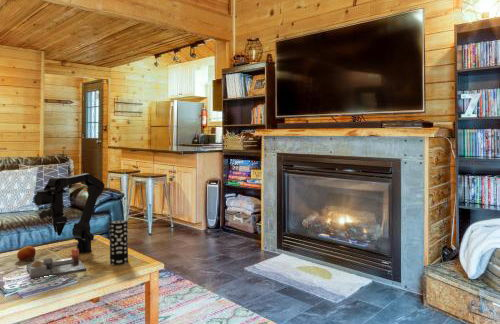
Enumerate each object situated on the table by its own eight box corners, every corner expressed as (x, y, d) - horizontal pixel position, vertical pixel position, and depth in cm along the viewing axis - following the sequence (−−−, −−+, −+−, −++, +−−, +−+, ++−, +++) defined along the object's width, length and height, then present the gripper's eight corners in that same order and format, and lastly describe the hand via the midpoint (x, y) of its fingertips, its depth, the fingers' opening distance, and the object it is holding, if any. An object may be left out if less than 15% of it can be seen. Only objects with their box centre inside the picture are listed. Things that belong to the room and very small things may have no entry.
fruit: (31, 260, 190) (23, 245, 191) (19, 267, 192) (11, 253, 192) (42, 255, 198) (35, 241, 199) (31, 262, 200) (24, 248, 200)
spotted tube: (131, 261, 193) (131, 221, 192) (119, 266, 186) (118, 224, 185) (118, 259, 197) (118, 219, 196) (106, 263, 189) (105, 222, 188)
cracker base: (76, 258, 197) (76, 250, 197) (86, 270, 179) (85, 260, 179) (26, 266, 185) (26, 257, 185) (31, 279, 167) (30, 269, 167)
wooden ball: (43, 269, 177) (42, 258, 177) (44, 272, 173) (44, 261, 172) (30, 271, 174) (30, 260, 174) (31, 275, 170) (31, 263, 170)
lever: (34, 269, 177) (34, 257, 176) (32, 267, 180) (32, 255, 179) (79, 261, 189) (79, 249, 189) (77, 259, 192) (77, 248, 192)
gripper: (36, 201, 198) (37, 232, 199) (40, 206, 182) (41, 239, 183) (60, 200, 204) (61, 229, 205) (67, 204, 189) (67, 236, 189)
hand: (57, 233), depth 195 cm, fingers open, 9 cm apart
